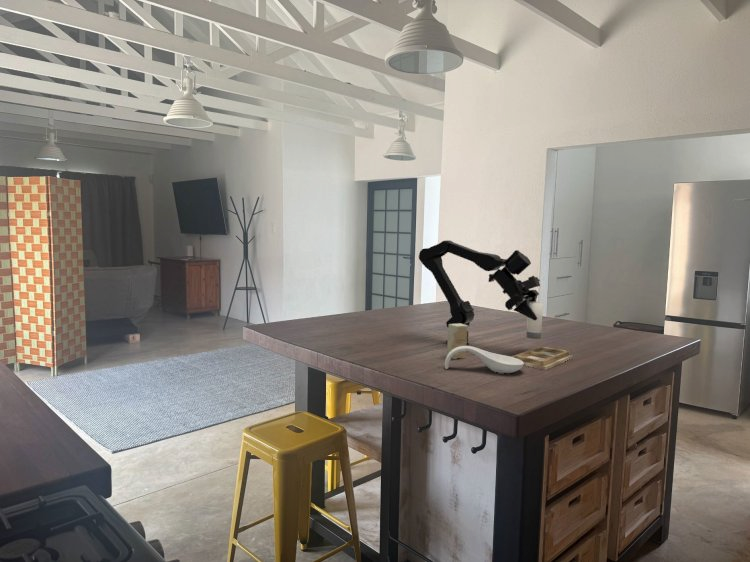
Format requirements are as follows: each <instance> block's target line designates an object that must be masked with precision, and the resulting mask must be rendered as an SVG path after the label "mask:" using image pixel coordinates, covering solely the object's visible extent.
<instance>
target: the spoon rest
mask: <svg viewBox="0 0 750 562" xmlns="http://www.w3.org/2000/svg"><path fill="white" fill-rule="evenodd" d="M461 351H466V352H470V353H472V354H474V355H475V356H477V357H478V358H479V359H480V360H481V361H482V362H483V364H484V365H485V366H486V367H487V368H488V369H489V370H490V371H492V372H493V371H494V372H493V373H496V372H498V373H497V374H504V373H507V374H512V373H515V372H518V371H519V370H521V368H522V367H524V366H523V365H524V362H523V361H521V360H519V359H517V358H513V357H511V356H509V355H504V354H499V353H494V352H490V351H487V350H485V349H482V348H478V347H476V346H471V345H467V346H460V347H457V348H454V349H453V350H451V351H450V352H449V353H448V355H447V354H446V357H445V359H444V360H445V361H444V369H445V370H448V369H449V368H450V362H451V359H453V358H452V356H453V355H455V354H456V353H458V352H461Z"/></svg>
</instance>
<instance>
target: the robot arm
mask: <svg viewBox="0 0 750 562" xmlns="http://www.w3.org/2000/svg"><path fill="white" fill-rule="evenodd" d="M448 253H449V254H452V255H455V256H456V257H460V258H463V259H465V260H467V261H469V262H472V263H473V264H475V265H476V266H478V267H479V268H481V269H482V270H483V271H486V272H493V271H495V272H494V273H489V274H488V283H492V282H496V283H497V284H498V285H499V287H501V289H502V293H503V294H505V295H507V296H508V297H509V299H507V301H506V302H505V304H504V305H505V308H506V309H507V310H508V311H512V310H513V311H514V312H517V313H519V314H521V315H523V316H525V317H529V318H531V319H533V320H537V317H536V315H535V313H534V312H533V310H532V309H531V307H530V306H529V302H530V301H535V302H537V299H538V296H539V295H540V293H539V292H538V290H536V289H533V288H536V287H541V283H540V282H541V280H540V279H539V278H538V276H535V275H532V276H528V279H526V280H523V281H522V280H520V279H517V278H516V277H515V276H514V275H517V276H518V275H520V274H521V273H522V272H524V271H525V270H527V268H528V267H529V266H530V265H531V264H532V262H531V261H530V259H529V257H528V256H527V255H525V254H523V252H521V251H520V250H519V249H516V250H514V251H513V252H512V254H510V256H509V257H508V258H505V259H504V258H501V256H499V255H498V254H494V253H488V252H481V251H478V250H475V249H472V248H470V247H467V246H465V245H462V244H459V243H456V242H454V241H453V240H448V239H447V240H443V241H441V242H439V243H437V244H435V245H433V246H430V247H427V248H426V247H425V248H423V249H420V251H419V253H418V260H419V261H420V263H422V265H423V267H425V268H426V269H427V270H429V272H430V273H431V274H432V275H433V277H434V280H435V281H436V283H437V284H438V287H439V288H440V289H441V292H442V293H443V295H444V297H445V299H446V301H447V303H448V304H449V310H450V311H449V313H450V315H451V317H449V319H448V320H447V321H446V322H445V324H446V328H447V329H448V326H449V324H459V323H461V324H464V325H467V326H468V327H469V326H470V324H471V322H473V320H474V317H475V312H474V311H475V309H474V308H473V307H472V305H471V303H470V301H469V300H466V301H464V300H463V299H462V298H461V296H460V294H459V293H458V291H457V290H456V288H455V286H454V284H453V282H452V280H451V279H450V277H449V275H448V273H447V272H446V270H445V268H444V266H443V258H442V257H444V256H445V255H446V254H448ZM501 267H503V268H502V269H501ZM514 307H515V308H514ZM445 341H446V343H448V339H446V340H445ZM467 344H470V343H469V331H468V330H467Z"/></svg>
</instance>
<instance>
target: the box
mask: <svg viewBox="0 0 750 562" xmlns="http://www.w3.org/2000/svg"><path fill="white" fill-rule="evenodd" d="M468 328H469V326H467V325H464V324H461V323H459V324H449V326H448V328H447V340H448V342H446V343H447V344H446V345H447V347H446V356H447V355H448V353H449V352H450V351H451V350H453V349H454V348H457V347H460V346H468V345H467V343H468V342H467V331H468V330H469V329H468ZM465 357H466V358H467V351H461V352H458V353H456V354H455V355H453V356H452V358H451V359H453V360H457V358H461V359H466V358H465Z"/></svg>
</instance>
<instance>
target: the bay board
mask: <svg viewBox="0 0 750 562" xmlns="http://www.w3.org/2000/svg"><path fill="white" fill-rule="evenodd" d="M510 357H513V358H517V359H519V360H521V361H523V362H524V366H525V367H528V366H529V368H533V367H534V369H539V370H544V371H547V370H549V368H550V369H552V368H554V367H556V365H557V366H558V364H559V365H562V364H563V363H565V361H566V362H568V361H570V360H572V359H573V355H572V354H570V351H569V350H564V349H558V348H553V347H546V346H542V345H541V346H538V347H536V348H531V349H529V350H525V351H523V352H520V353H517V354H513V355H511V356H510ZM569 359H570V360H569ZM567 360H568V361H567ZM524 366H523V367H524Z"/></svg>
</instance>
